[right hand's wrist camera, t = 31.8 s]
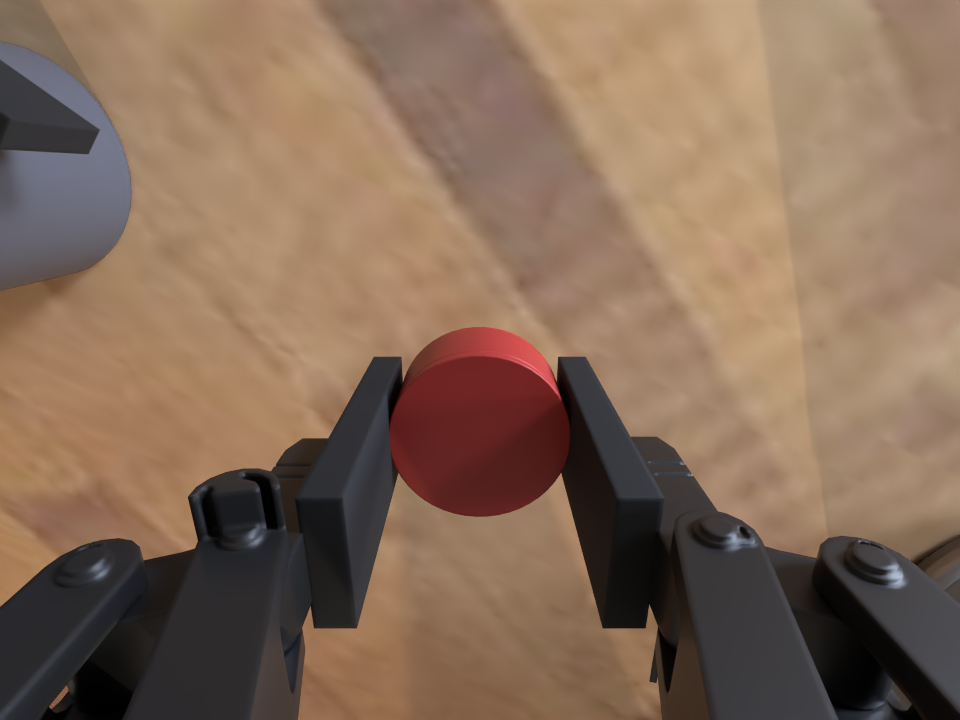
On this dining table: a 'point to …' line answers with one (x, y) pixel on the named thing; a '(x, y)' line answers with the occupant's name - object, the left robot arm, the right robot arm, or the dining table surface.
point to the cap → (479, 423)
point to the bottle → (60, 188)
